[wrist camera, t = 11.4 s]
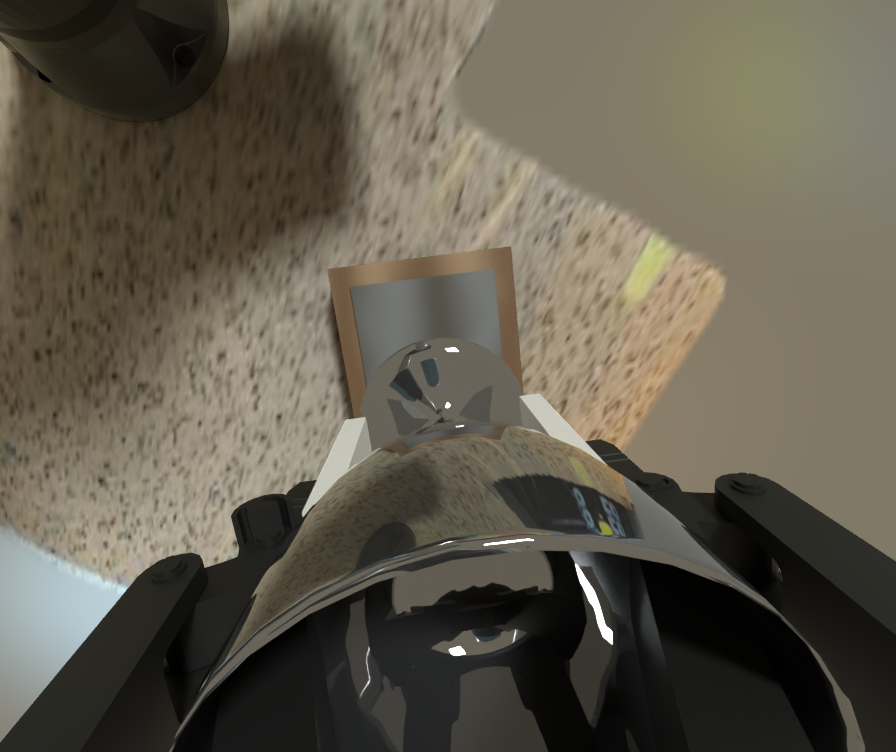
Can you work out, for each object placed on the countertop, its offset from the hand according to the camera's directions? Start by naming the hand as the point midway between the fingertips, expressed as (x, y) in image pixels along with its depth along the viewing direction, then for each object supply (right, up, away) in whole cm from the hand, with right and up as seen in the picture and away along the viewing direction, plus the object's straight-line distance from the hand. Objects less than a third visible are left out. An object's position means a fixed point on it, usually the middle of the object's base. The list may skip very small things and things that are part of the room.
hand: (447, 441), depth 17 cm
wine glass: (0, +1, +3) cm, 3 cm away
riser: (-2, +6, +23) cm, 24 cm away
